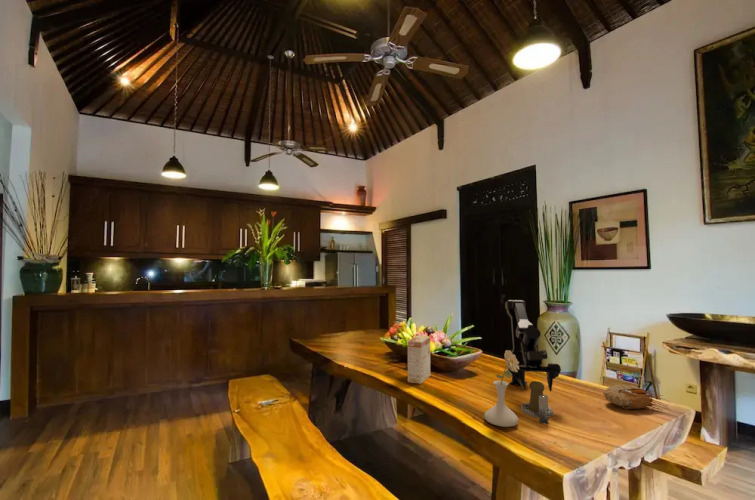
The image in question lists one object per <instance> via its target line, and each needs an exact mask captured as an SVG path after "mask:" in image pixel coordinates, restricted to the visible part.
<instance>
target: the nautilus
mask: <svg viewBox="0 0 755 500" xmlns="http://www.w3.org/2000/svg"><path fill="white" fill-rule="evenodd" d="M602 394H603V396H604V398H605V400H606V401H608V402H609V403H611V404H613V405H616V406H618V407H620V408H623V409H624V410H633V409H637V410H638V409H642V408H646V409H651V410H653V411H655V412H657V413H659V414H660V413H661V414H662V412H660V411H663V409H666V410H670V411H671V409H670V408H669V406H668V405H666V404H664V403H663V402H660V401H662V400H664V401H666V402H669V400H667V399H665V398H662V397H663V396H664V395H661V394H660V395H659V394H654V392H653V391H651V390H646V389H645V388H641V387H637V386H635V385H628V384H616V385H611V386H608V387H607V388H605V389H604V390H603V391H602ZM659 396H662V397H659ZM653 398H656V399H658V400H654V399H653ZM659 400H660V401H659ZM661 405H662V406H661ZM654 406H658V407H654ZM659 407H660V408H659ZM658 410H659V411H658Z"/></svg>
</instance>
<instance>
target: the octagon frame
mask: <svg viewBox="0 0 755 500" xmlns="http://www.w3.org/2000/svg"><path fill="white" fill-rule="evenodd" d="M529 403H530V401H529V402H526V403H525V402H524V403H522V404H521V405H520V408H521V412H522V414H525V415H527V416H530V417H533V418H538V422H539V423H540V424H542V425H548V424H549V418H550V417H553V416H554V410H553V408H551V407H552V406H549V396H548V395H546V394H543V395H539V412H534V411H532V410H529Z"/></svg>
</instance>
